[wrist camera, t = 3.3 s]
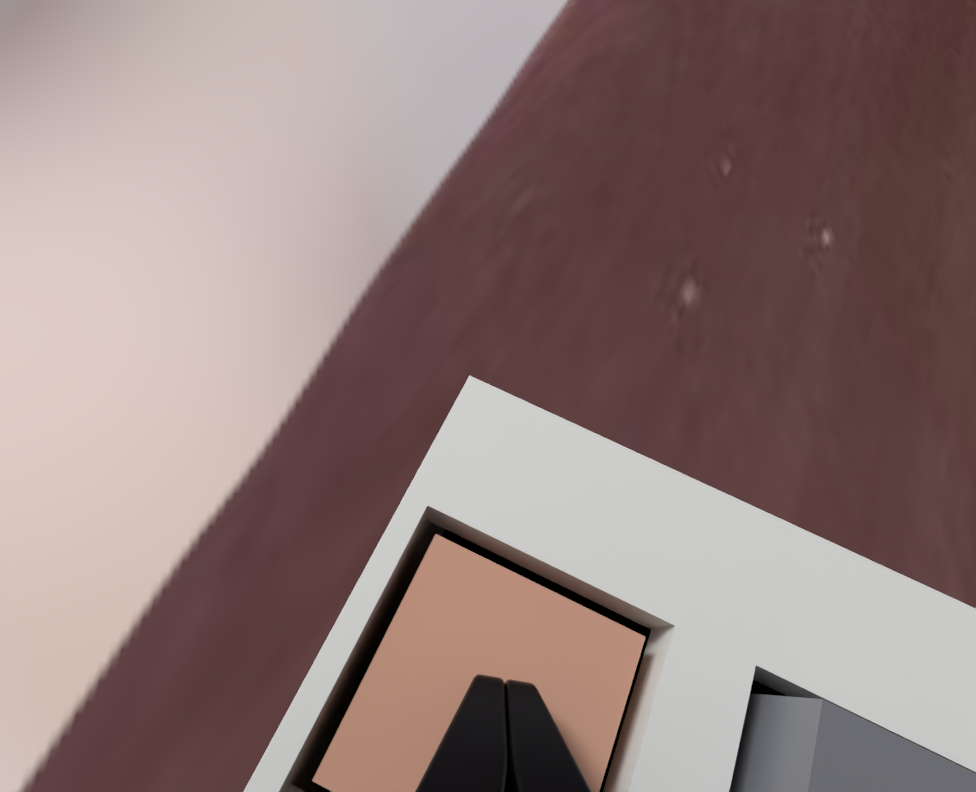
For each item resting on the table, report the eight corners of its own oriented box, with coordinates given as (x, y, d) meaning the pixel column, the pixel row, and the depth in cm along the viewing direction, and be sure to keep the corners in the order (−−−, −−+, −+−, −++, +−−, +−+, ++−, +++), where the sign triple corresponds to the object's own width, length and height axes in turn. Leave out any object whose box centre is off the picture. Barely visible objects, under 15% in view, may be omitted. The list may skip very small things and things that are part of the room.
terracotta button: (528, 859, 9) (561, 916, 7) (335, 755, 10) (312, 781, 8) (601, 642, 11) (645, 636, 9) (432, 559, 11) (435, 533, 9)
